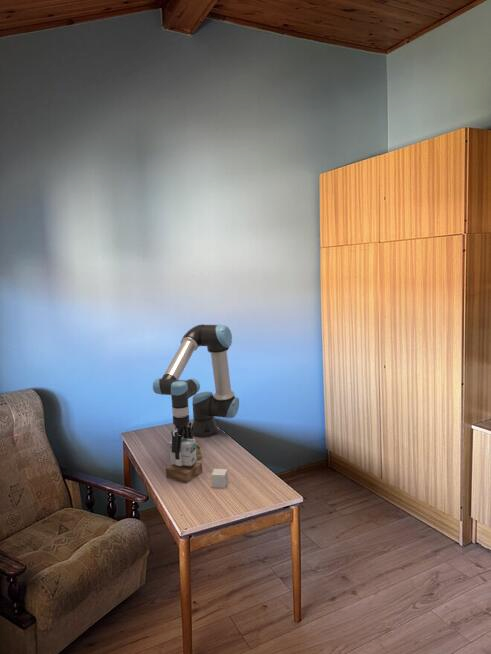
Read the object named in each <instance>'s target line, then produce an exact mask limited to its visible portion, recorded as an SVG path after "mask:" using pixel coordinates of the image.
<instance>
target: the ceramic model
mask: <svg viewBox="0 0 491 654" xmlns="http://www.w3.org/2000/svg"><path fill="white" fill-rule="evenodd" d="M195 445H196V461H199V460H201V459H203V457H204V455H203V452H202V448H201V447H202V446H201V445H200V444H199V443H198V442H197V441H195Z"/></svg>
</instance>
